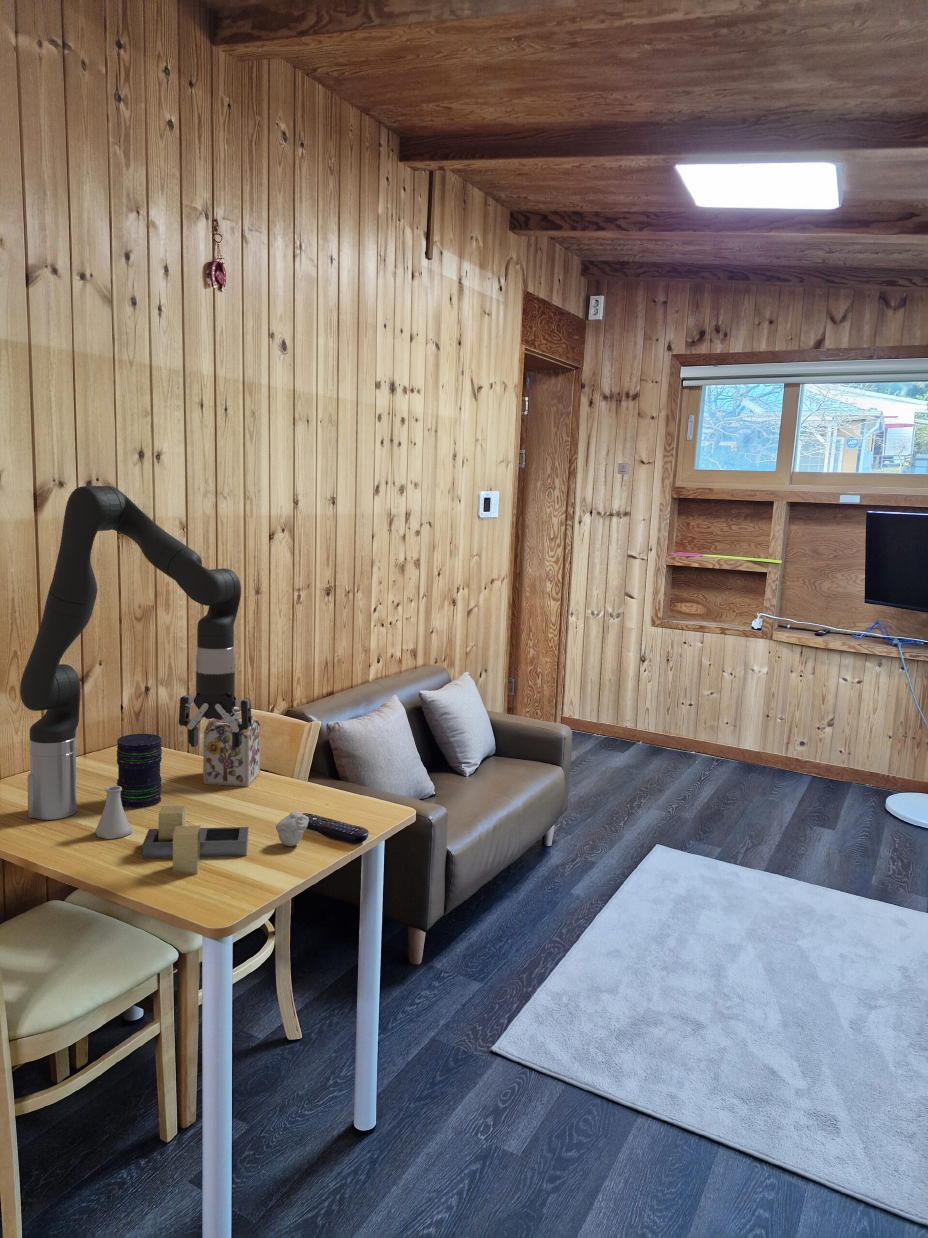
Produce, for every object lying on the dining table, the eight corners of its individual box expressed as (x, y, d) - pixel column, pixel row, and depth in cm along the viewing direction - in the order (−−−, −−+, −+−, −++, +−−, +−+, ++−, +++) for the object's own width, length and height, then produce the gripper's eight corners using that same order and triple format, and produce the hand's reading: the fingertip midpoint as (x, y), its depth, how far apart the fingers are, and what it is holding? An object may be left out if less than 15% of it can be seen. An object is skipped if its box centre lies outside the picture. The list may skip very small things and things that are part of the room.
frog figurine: (312, 847, 187) (313, 815, 186) (280, 852, 184) (280, 820, 183) (302, 837, 192) (303, 806, 192) (270, 842, 189) (271, 810, 188)
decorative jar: (216, 770, 235) (217, 703, 233) (260, 773, 235) (262, 706, 232) (201, 785, 223) (202, 714, 221) (248, 787, 223) (249, 717, 221)
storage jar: (132, 811, 203) (132, 747, 201) (108, 801, 209) (107, 739, 207) (170, 801, 211) (170, 739, 209) (145, 791, 217) (146, 731, 215)
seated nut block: (158, 852, 180) (158, 813, 179) (161, 843, 184) (161, 806, 183) (181, 851, 181) (182, 813, 180) (184, 843, 185) (184, 805, 184)
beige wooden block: (172, 875, 171) (172, 834, 170) (175, 865, 175) (175, 826, 174) (197, 874, 172) (197, 834, 171) (199, 864, 176) (199, 825, 175)
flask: (120, 824, 195) (120, 780, 194) (138, 833, 190) (138, 788, 189) (88, 833, 189) (88, 787, 188) (106, 842, 185) (106, 796, 183)
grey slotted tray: (142, 858, 178) (142, 844, 177) (148, 843, 185) (149, 829, 185) (246, 855, 182) (246, 841, 181) (248, 840, 189) (248, 827, 189)
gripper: (173, 670, 176) (173, 750, 178) (243, 674, 175) (243, 755, 177) (188, 663, 183) (188, 741, 185) (256, 667, 182) (255, 745, 184)
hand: (215, 747), depth 181 cm, fingers open, 8 cm apart
